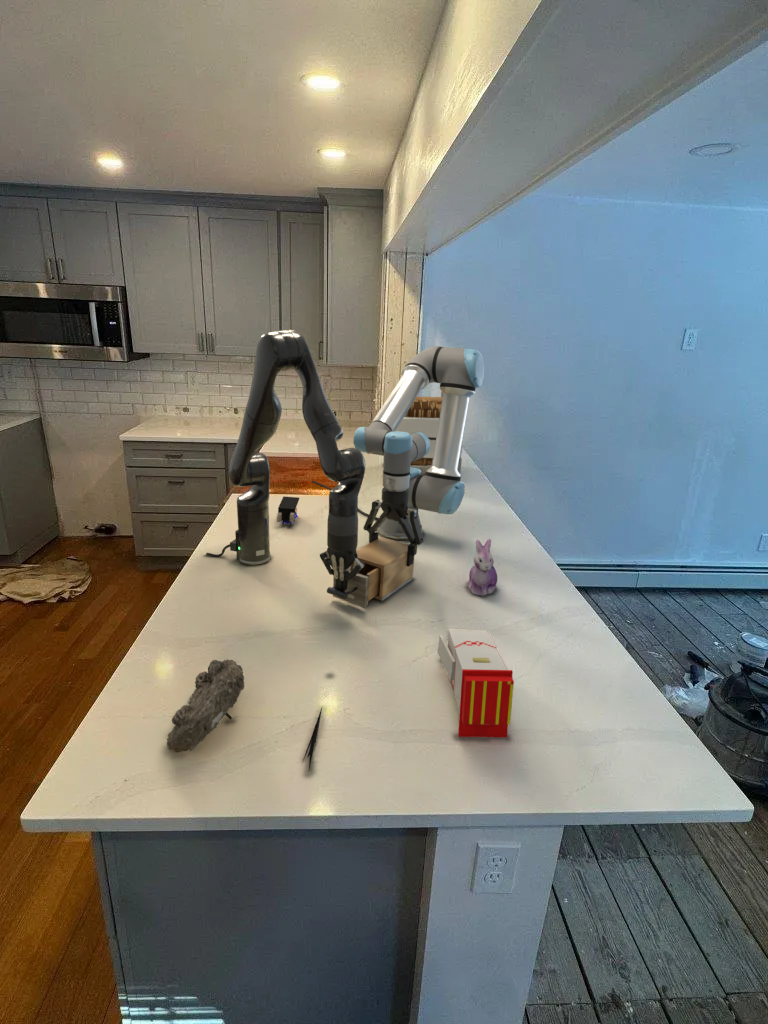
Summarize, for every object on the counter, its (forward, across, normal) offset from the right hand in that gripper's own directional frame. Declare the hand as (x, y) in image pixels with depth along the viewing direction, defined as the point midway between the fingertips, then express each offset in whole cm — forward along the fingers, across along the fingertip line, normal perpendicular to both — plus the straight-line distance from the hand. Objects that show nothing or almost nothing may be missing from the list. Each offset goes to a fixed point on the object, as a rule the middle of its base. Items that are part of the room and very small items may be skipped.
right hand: (391, 559), depth 165 cm
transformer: (+5, -48, +105) cm, 115 cm away
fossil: (+6, +4, -71) cm, 72 cm away
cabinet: (+6, 0, -5) cm, 8 cm away
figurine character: (+6, -54, +16) cm, 56 cm away
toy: (+6, +41, -36) cm, 55 cm away
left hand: (0, 0, -25) cm, 25 cm away
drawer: (+5, 0, -17) cm, 17 cm away
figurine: (+6, +25, +10) cm, 27 cm away
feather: (+6, +21, -60) cm, 64 cm away
